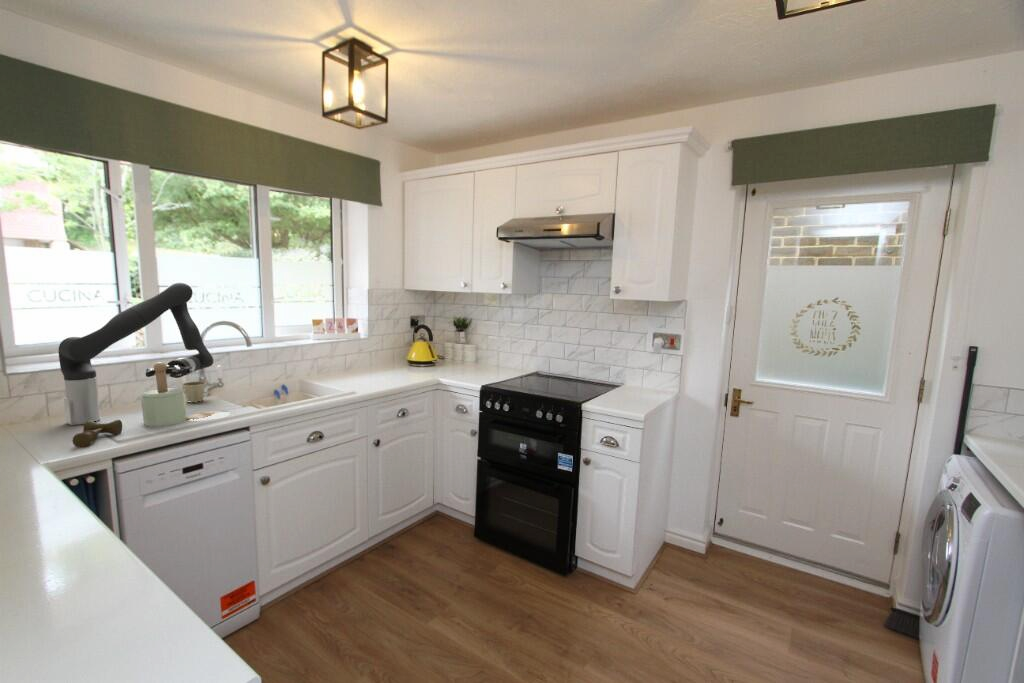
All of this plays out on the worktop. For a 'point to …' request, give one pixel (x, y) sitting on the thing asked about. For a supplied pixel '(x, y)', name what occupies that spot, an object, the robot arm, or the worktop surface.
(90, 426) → the kendama
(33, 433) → the worktop surface
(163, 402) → the green knobbed canister
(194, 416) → the cork mat
